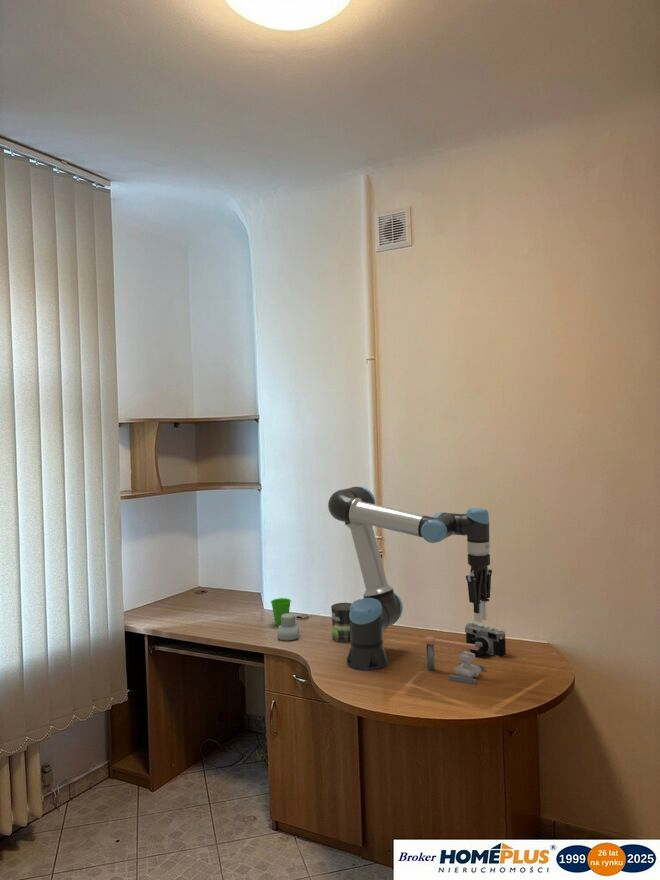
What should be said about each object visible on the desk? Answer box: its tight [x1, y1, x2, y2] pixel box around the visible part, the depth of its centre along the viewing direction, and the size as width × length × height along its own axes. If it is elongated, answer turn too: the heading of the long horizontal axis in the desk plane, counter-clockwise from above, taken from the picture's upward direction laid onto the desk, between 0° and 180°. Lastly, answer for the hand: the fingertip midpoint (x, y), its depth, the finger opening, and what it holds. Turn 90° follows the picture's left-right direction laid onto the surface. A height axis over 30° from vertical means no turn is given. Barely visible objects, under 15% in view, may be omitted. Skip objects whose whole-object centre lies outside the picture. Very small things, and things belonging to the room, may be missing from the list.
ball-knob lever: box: [424, 635, 482, 650], centre depth 209 cm, size 20×4×2 cm, turn 61°
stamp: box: [453, 650, 482, 679], centre depth 207 cm, size 9×7×8 cm
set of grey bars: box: [425, 644, 486, 685], centre depth 210 cm, size 20×13×10 cm, turn 61°
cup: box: [270, 597, 292, 628], centre depth 267 cm, size 9×9×11 cm
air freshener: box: [277, 612, 300, 642], centre depth 250 cm, size 11×8×10 cm
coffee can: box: [330, 602, 353, 644], centre depth 247 cm, size 10×10×14 cm
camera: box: [464, 620, 507, 658], centre depth 228 cm, size 18×10×10 cm, turn 40°
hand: (480, 620), depth 210 cm, fingers open, 2 cm apart
